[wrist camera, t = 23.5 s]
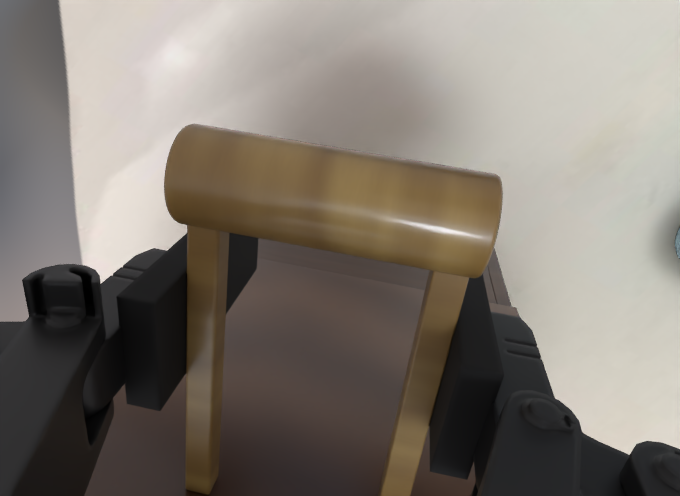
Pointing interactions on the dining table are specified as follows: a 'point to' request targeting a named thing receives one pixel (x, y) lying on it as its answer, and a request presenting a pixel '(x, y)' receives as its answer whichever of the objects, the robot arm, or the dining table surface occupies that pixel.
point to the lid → (307, 324)
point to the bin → (373, 267)
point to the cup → (678, 243)
